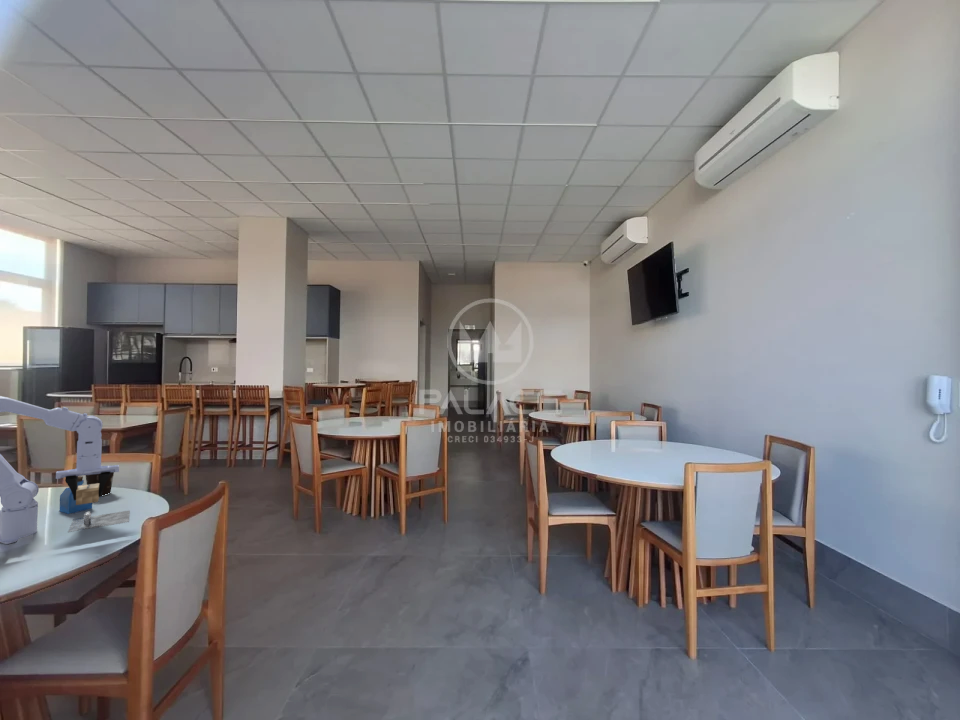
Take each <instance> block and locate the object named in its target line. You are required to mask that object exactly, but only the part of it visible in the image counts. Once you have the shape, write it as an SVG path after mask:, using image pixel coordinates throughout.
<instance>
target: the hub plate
mask: <svg viewBox="0 0 960 720" xmlns="http://www.w3.org/2000/svg"><path fill="white" fill-rule="evenodd" d="M130 512H131V510H129V509H128V510H124V511H119V512H112V513H106V514H99V515H92V513H91V511H85V513H83V517H80V518H73V519H72V521H71V524H70V525H69V528H68V530H67V533H71V532H72V533H73V532H77V531H83V530H89V529H96V528H101V527H106V526H107V527H108V526H113V525H118V524H119V525H120V524H126V523H130V514H131V513H130Z"/></svg>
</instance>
